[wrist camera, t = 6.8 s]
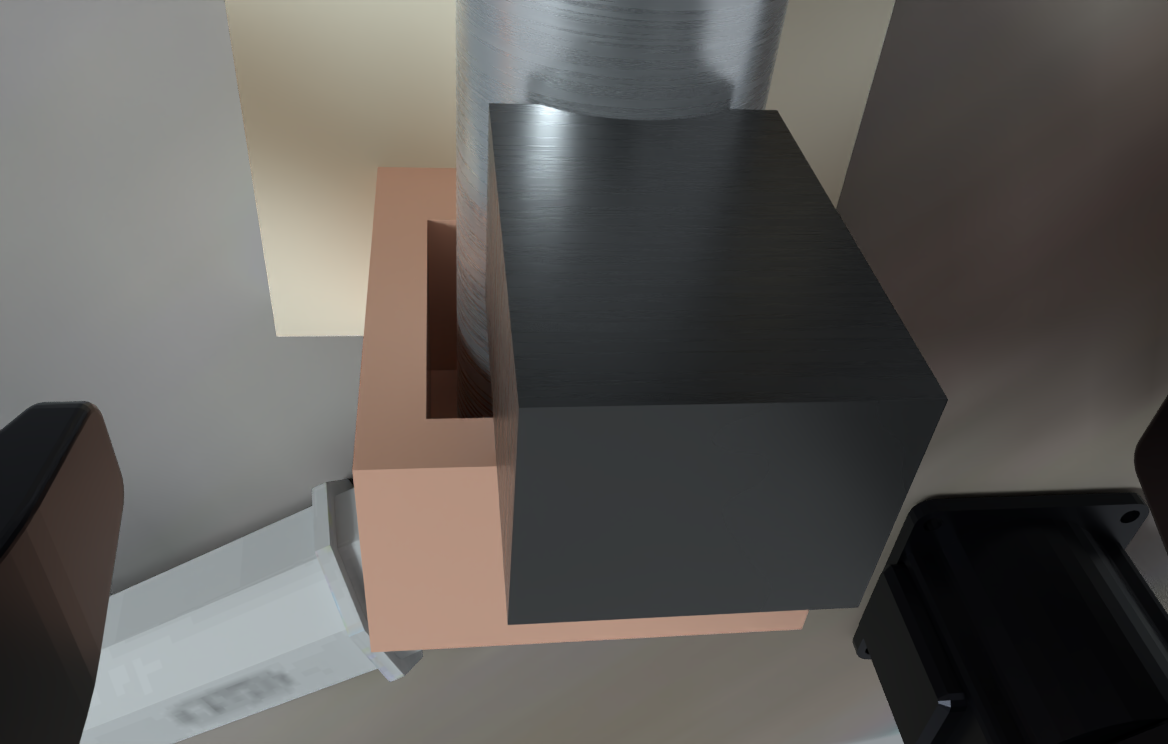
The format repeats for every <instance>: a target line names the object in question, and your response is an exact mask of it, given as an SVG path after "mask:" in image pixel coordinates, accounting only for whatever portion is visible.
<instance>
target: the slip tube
mask: <svg viewBox="0 0 1168 744" xmlns="http://www.w3.org/2000/svg"><path fill="white" fill-rule="evenodd" d="M788 1H789V0H456V257H457V418H493V421H494V435H495V450H496V464H497V479H498V493H499V508H500V522H501V537H502V551H503V566H504V580H505V595H506V609H507V624H508V625H520V624H540V623H559V622H579V621H598V620H618V619H638V618H657V617H677V616H697V615H716V614H736V613H756V612H775V611H795V610H814V609H834V608H854V607H858V606H859V604H860V602H861V599H862V597H863V595H864V592H865V590H866V588H867V586H868V583H869V581H870V579H871V576H872V574H873V572H874V569H875V567H876V565H877V562H878V560H879V558H880V555H881V553H882V551H883V549H884V546H885V544H886V542H887V539H888V537H889V535H890V532H891V530H892V528H893V525H894V523H895V521H896V519H897V516H898V514H899V512H900V509H901V507H902V505H903V502H904V500H905V498H906V495H907V493H908V491H909V489H910V486H911V484H912V482H913V479H914V477H915V475H916V472H917V470H918V468H919V465H920V463H921V461H922V459H923V456H924V454H925V452H926V449H927V447H928V445H929V442H930V440H931V438H932V435H933V433H934V431H935V428H936V426H937V424H938V422H939V419H940V417H941V415H942V412H943V410H944V408H945V405H946V403H947V401H948V399H947V397H946V395H945V393H944V392H943V390H942V388H941V387H940V385H939V383H938V382H937V380H936V378H935V377H934V375H933V373H932V371H931V370H930V368H929V366H928V365H927V363H926V361H925V360H924V358H923V356H922V355H921V353H920V351H919V349H918V348H917V346H916V344H915V343H914V341H913V339H912V338H911V336H910V334H909V333H908V331H907V329H906V327H905V326H904V324H903V322H902V321H901V319H900V317H899V316H898V314H897V312H896V310H895V309H894V307H893V305H892V304H891V302H890V300H889V299H888V297H887V295H886V294H885V292H884V290H883V288H882V287H881V285H880V283H879V282H878V280H877V278H876V277H875V275H874V273H873V272H872V270H871V268H870V266H869V265H868V263H867V261H866V260H865V258H864V256H863V255H862V253H861V251H860V249H859V248H858V246H857V244H856V243H855V241H854V239H853V238H852V236H851V234H850V233H849V231H848V229H847V227H846V226H845V224H844V222H843V221H842V219H841V217H840V216H839V214H838V212H837V211H836V209H835V207H834V205H833V204H832V202H831V200H830V199H829V197H828V195H827V194H826V192H825V190H824V188H823V187H822V185H821V183H820V182H819V180H818V178H817V177H816V175H815V173H814V172H813V170H812V168H811V166H810V165H809V163H808V161H807V160H806V158H805V156H804V155H803V153H802V151H801V150H800V148H799V146H798V144H797V143H796V141H795V139H794V138H793V136H792V134H791V133H790V131H789V129H788V127H787V126H786V124H785V122H784V121H783V119H782V117H781V116H780V114H779V112H778V111H777V110H765V108H766V103H767V99H768V94H769V89H770V85H771V80H772V75H773V71H774V66H775V61H776V57H777V52H778V48H779V43H780V38H781V34H782V29H783V24H784V20H785V15H786V10H787V6H788Z"/></svg>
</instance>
